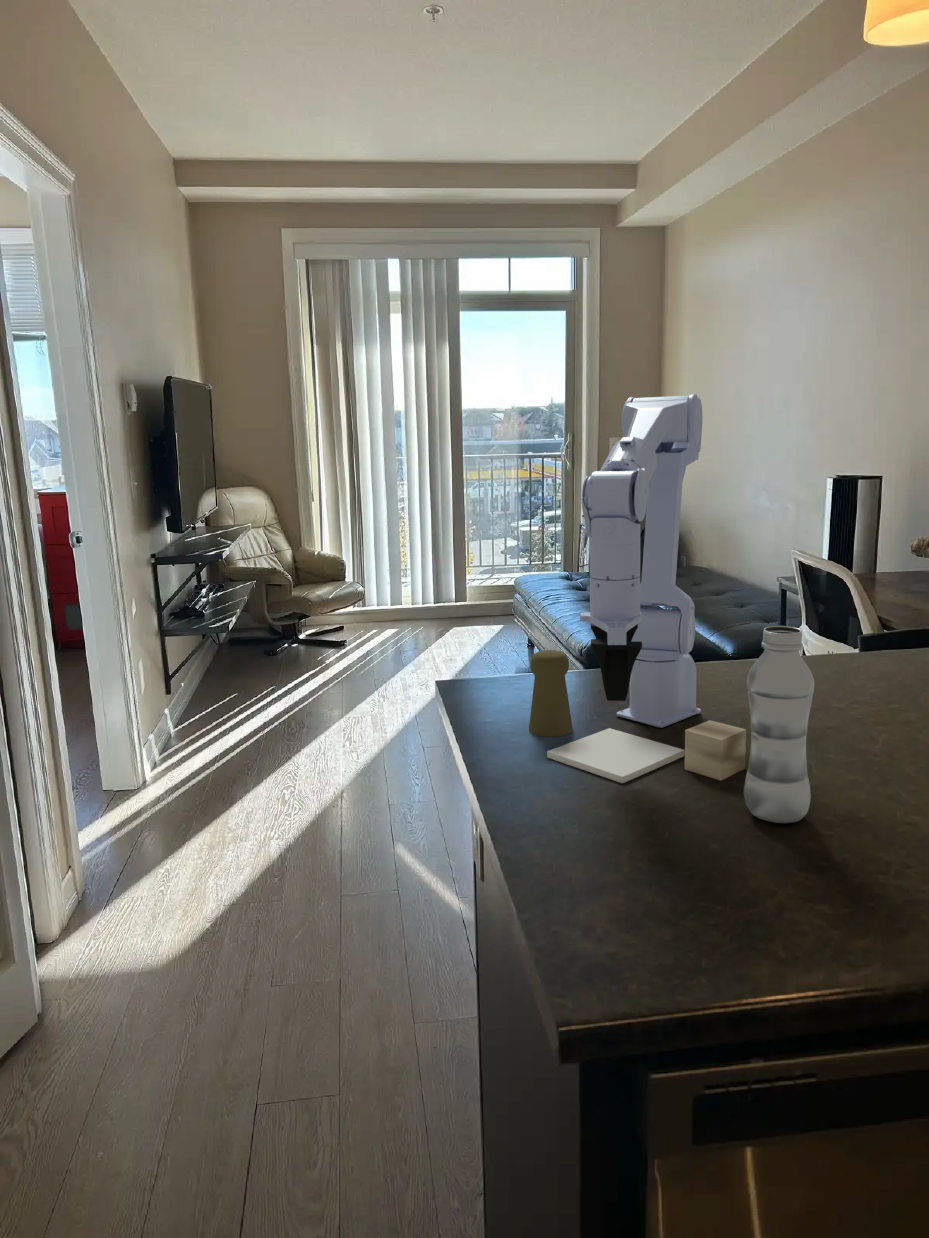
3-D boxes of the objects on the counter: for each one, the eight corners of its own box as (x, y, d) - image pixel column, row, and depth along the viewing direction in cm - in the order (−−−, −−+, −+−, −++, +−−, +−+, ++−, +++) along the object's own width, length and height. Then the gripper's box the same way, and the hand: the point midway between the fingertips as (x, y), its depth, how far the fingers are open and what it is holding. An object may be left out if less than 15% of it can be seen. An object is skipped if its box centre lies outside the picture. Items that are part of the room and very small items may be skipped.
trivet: (609, 733, 119) (609, 728, 119) (684, 756, 110) (684, 749, 110) (547, 757, 112) (547, 751, 111) (622, 783, 103) (622, 776, 103)
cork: (570, 737, 118) (570, 657, 116) (525, 736, 120) (524, 656, 117) (574, 722, 124) (573, 646, 122) (531, 721, 125) (530, 645, 123)
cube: (708, 758, 109) (709, 720, 108) (744, 769, 106) (746, 729, 105) (684, 769, 106) (685, 730, 105) (720, 781, 103) (721, 740, 102)
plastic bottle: (778, 836, 88) (785, 640, 84) (728, 812, 94) (733, 628, 90) (824, 821, 91) (833, 631, 87) (773, 798, 97) (780, 619, 93)
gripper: (580, 566, 110) (581, 673, 112) (579, 588, 96) (580, 709, 98) (638, 565, 109) (638, 673, 111) (645, 587, 95) (645, 709, 97)
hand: (615, 690), depth 105 cm, fingers open, 7 cm apart
